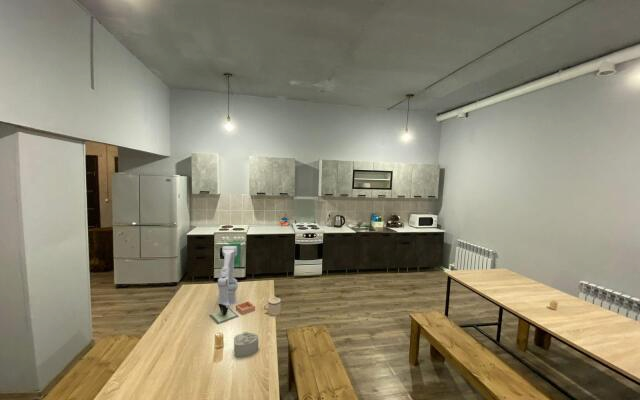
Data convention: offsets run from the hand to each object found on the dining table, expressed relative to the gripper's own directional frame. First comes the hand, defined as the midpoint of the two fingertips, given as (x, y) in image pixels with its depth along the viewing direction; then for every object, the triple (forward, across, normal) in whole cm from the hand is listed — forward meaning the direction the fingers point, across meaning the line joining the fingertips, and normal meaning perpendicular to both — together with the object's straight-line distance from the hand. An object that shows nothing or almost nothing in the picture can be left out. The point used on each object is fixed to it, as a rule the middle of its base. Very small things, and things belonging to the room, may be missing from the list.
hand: (223, 313), depth 185 cm
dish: (+2, +2, +15) cm, 15 cm away
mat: (+2, 0, 0) cm, 2 cm away
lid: (+2, 0, 0) cm, 2 cm away
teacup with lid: (+2, +17, +28) cm, 33 cm away
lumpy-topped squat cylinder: (+2, +42, -5) cm, 42 cm away
